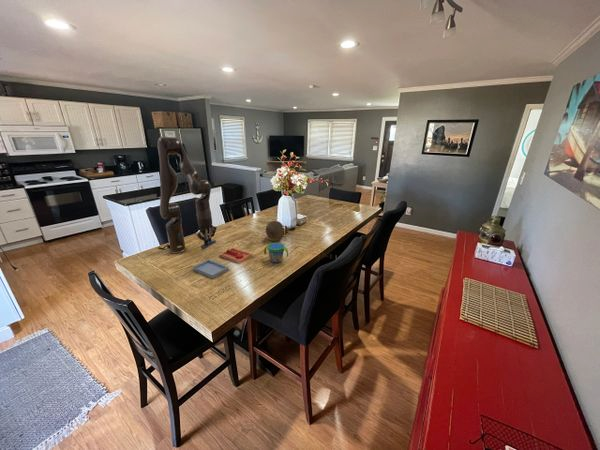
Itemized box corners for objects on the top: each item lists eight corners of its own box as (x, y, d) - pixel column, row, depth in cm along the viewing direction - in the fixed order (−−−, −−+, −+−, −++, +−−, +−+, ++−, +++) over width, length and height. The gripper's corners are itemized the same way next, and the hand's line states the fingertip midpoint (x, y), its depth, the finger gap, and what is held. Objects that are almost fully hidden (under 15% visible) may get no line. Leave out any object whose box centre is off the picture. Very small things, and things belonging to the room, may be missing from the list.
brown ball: (288, 240, 182) (288, 221, 177) (274, 245, 172) (273, 226, 167) (276, 235, 191) (275, 217, 186) (262, 240, 181) (261, 221, 176)
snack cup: (291, 258, 154) (290, 244, 150) (284, 266, 144) (283, 251, 141) (269, 254, 159) (268, 240, 155) (261, 261, 150) (260, 247, 146)
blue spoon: (218, 241, 136) (216, 237, 136) (211, 244, 132) (209, 240, 132) (206, 248, 144) (204, 244, 144) (199, 251, 140) (197, 247, 140)
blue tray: (193, 270, 140) (192, 267, 139) (209, 262, 149) (208, 259, 148) (212, 278, 131) (212, 275, 131) (228, 269, 140) (228, 266, 140)
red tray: (220, 256, 156) (219, 253, 155) (233, 250, 165) (232, 247, 164) (239, 263, 147) (239, 260, 147) (251, 256, 156) (251, 253, 156)
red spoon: (244, 256, 155) (244, 253, 154) (239, 259, 151) (239, 255, 150) (230, 251, 162) (230, 248, 161) (224, 254, 158) (224, 250, 157)
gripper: (209, 212, 140) (213, 239, 145) (189, 218, 129) (193, 247, 134) (218, 214, 136) (222, 242, 142) (198, 221, 125) (202, 251, 131)
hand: (208, 245), depth 138 cm, fingers closed on blue spoon, 1 cm apart
